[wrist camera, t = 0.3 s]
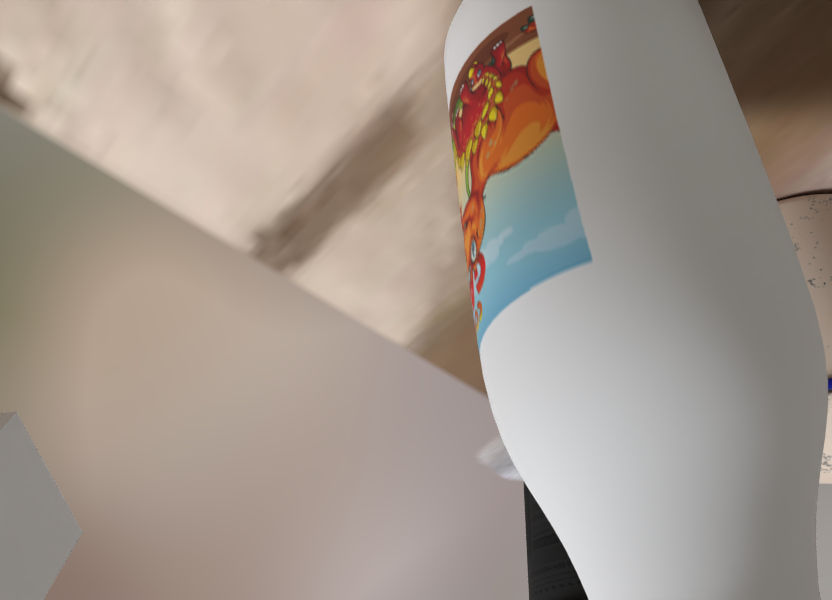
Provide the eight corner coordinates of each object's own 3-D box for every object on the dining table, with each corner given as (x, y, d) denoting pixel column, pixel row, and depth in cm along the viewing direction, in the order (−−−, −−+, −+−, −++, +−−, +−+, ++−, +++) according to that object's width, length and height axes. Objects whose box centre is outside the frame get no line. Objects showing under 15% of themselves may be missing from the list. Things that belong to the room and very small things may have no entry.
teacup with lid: (648, 242, 33) (719, 501, 27) (872, 153, 29) (1014, 437, 23) (724, 339, 42) (791, 552, 36) (906, 281, 38) (1017, 512, 32)
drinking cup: (545, 410, 49) (602, 768, 39) (468, 379, 44) (511, 778, 34) (648, 370, 45) (744, 761, 34) (576, 330, 40) (663, 771, 30)
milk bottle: (609, -143, 19) (955, 825, 8) (733, 34, 24) (1047, 780, 13) (390, 37, 23) (439, 826, 13) (534, 155, 28) (654, 791, 18)
